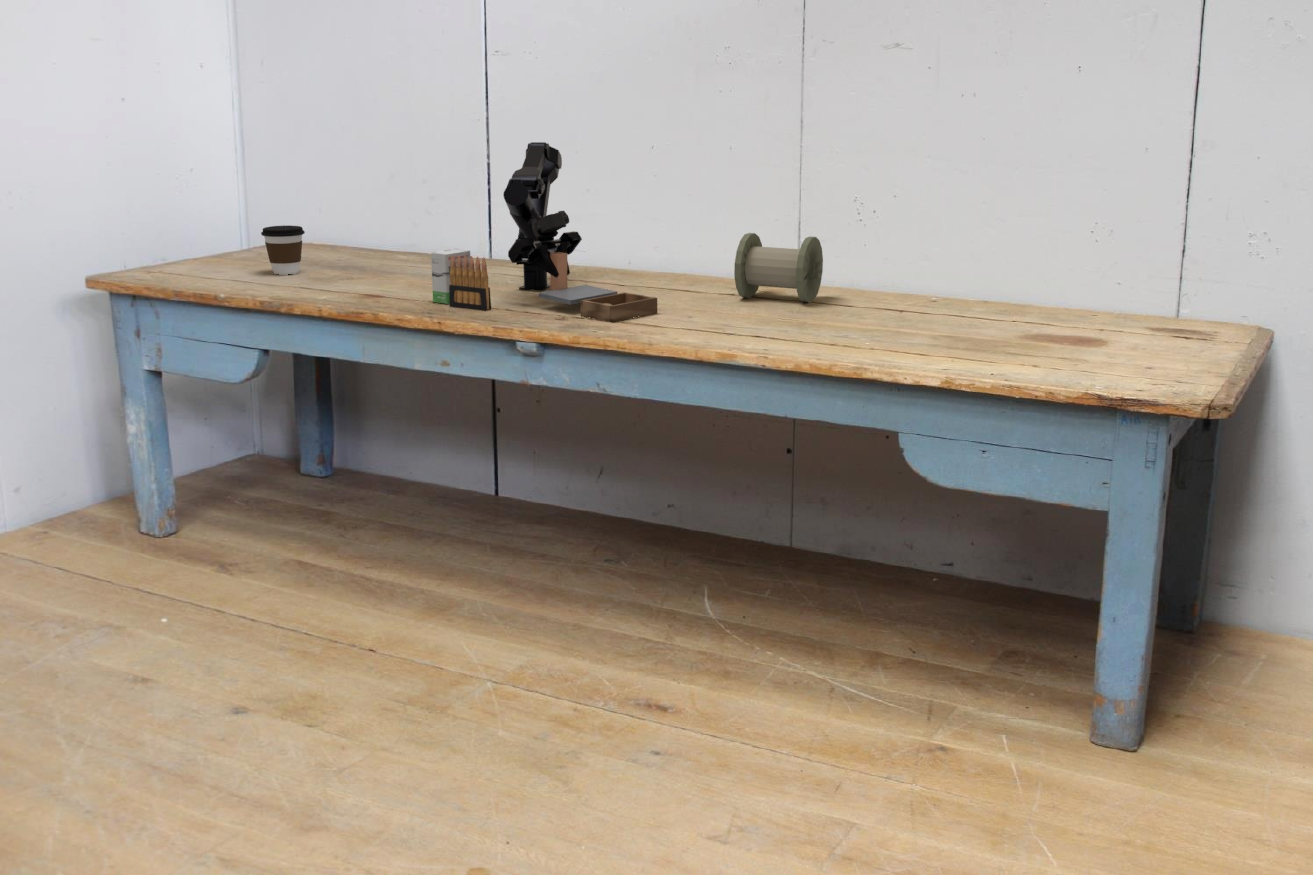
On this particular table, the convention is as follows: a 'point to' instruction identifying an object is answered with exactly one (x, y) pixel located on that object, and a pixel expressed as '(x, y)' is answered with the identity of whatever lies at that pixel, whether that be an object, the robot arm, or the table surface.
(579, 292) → the lid
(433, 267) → the ink box
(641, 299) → the tub
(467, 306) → the ammunition clip
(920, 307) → the table surface
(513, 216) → the robot arm
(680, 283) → the table surface
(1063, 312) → the table surface
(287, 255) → the coffee cup
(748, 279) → the spool
